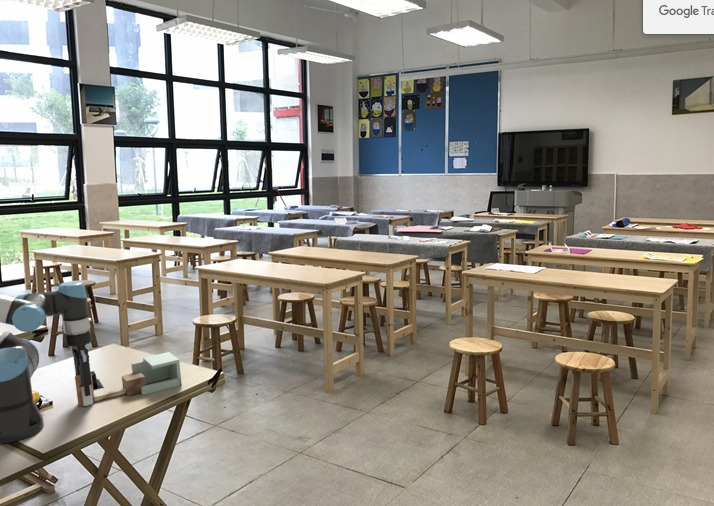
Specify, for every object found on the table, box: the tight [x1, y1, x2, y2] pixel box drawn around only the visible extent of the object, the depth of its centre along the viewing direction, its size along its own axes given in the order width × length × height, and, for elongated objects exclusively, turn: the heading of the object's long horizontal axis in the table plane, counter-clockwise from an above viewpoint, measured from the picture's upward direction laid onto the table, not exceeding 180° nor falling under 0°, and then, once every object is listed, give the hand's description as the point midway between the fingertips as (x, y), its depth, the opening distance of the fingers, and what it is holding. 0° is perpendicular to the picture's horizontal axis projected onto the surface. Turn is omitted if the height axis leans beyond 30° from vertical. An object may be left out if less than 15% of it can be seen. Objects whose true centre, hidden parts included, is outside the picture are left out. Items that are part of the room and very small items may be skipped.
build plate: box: [90, 370, 105, 391], centre depth 206 cm, size 13×8×5 cm, turn 33°
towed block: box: [74, 372, 147, 407], centre depth 195 cm, size 20×6×9 cm, turn 125°
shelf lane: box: [130, 351, 182, 396], centre depth 203 cm, size 13×10×9 cm
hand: (86, 401), depth 191 cm, fingers closed on towed block, 5 cm apart
